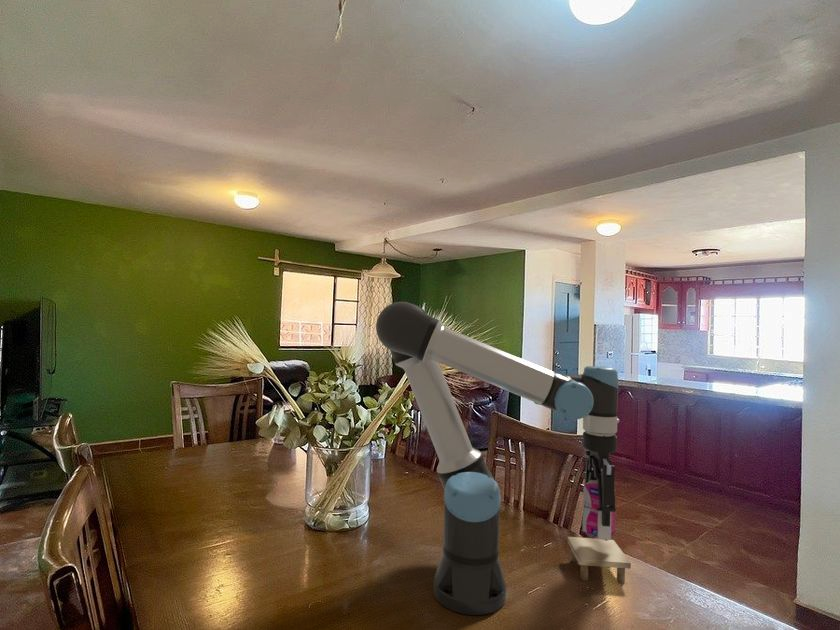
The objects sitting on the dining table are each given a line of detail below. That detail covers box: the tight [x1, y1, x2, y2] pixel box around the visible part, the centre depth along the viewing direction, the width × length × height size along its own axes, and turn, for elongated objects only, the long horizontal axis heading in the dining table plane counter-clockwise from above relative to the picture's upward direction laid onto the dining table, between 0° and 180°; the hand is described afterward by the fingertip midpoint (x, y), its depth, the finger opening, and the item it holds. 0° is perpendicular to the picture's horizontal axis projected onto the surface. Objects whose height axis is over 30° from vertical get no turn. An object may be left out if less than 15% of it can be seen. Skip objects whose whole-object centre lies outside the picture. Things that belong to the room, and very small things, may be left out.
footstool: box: [567, 536, 632, 585], centre depth 106 cm, size 11×11×5 cm
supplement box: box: [581, 480, 616, 541], centre depth 106 cm, size 6×6×12 cm
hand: (598, 530), depth 106 cm, fingers closed on supplement box, 8 cm apart
